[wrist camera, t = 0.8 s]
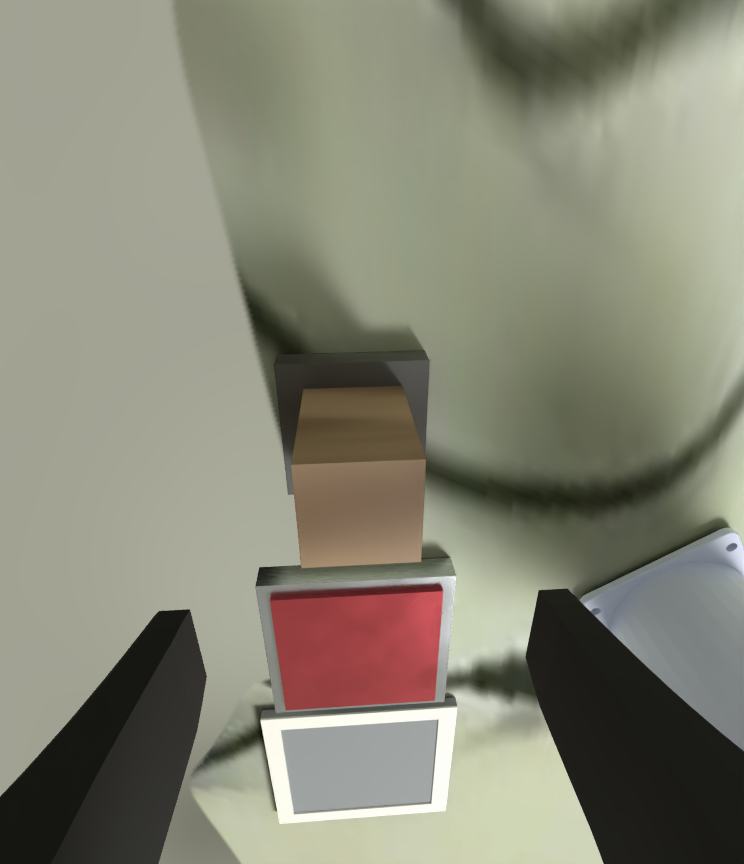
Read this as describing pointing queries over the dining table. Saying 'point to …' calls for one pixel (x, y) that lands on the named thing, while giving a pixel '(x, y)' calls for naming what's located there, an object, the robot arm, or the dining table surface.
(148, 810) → the robot arm
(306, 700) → the ink pad
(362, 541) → the stamp
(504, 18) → the dining table surface
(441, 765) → the marked square
